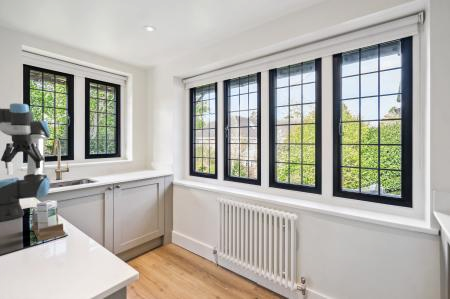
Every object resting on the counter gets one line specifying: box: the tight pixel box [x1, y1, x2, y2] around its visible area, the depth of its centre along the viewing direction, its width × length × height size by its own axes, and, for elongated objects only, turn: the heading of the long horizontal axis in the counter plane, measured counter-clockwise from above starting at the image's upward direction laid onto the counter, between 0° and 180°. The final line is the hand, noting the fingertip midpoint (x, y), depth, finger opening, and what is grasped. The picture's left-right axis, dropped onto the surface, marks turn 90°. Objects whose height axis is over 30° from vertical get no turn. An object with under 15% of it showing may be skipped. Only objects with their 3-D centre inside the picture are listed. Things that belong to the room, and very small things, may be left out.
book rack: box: [31, 209, 66, 242], centre depth 117 cm, size 22×10×10 cm, turn 45°
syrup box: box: [36, 199, 59, 232], centre depth 114 cm, size 6×6×14 cm
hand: (23, 174), depth 122 cm, fingers open, 13 cm apart
